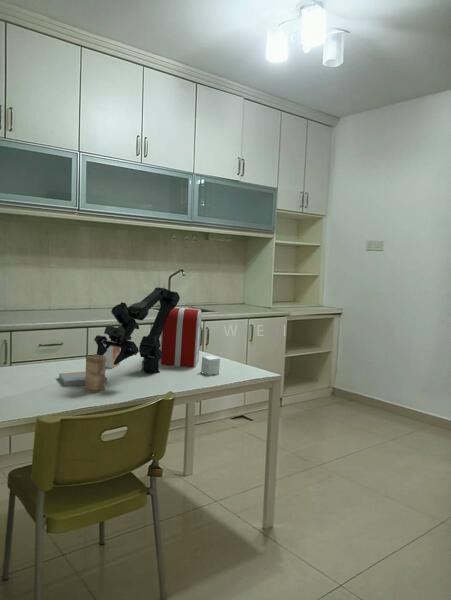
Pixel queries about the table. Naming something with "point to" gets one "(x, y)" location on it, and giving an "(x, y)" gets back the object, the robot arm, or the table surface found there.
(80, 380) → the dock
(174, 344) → the red striped box
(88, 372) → the brown block
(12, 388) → the table surface
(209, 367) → the product box
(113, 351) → the small box
